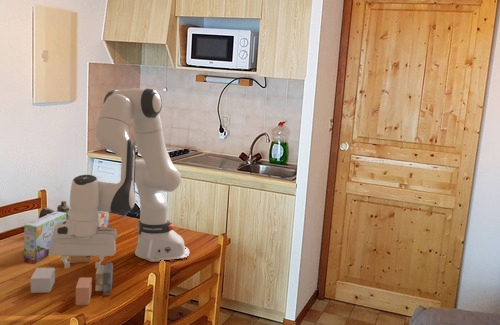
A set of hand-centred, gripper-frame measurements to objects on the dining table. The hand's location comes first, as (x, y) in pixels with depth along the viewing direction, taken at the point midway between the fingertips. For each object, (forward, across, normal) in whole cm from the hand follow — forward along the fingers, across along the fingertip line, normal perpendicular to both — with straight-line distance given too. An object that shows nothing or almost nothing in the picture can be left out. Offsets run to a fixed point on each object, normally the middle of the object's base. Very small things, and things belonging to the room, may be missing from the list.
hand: (82, 267), depth 166 cm
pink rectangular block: (+12, -1, 0) cm, 12 cm away
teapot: (+12, +18, -70) cm, 73 cm away
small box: (+12, +6, -37) cm, 40 cm away
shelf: (+12, +4, -10) cm, 16 cm away
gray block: (+11, +14, -10) cm, 21 cm away
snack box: (+12, +20, -44) cm, 50 cm away
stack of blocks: (+12, +4, -73) cm, 74 cm away
